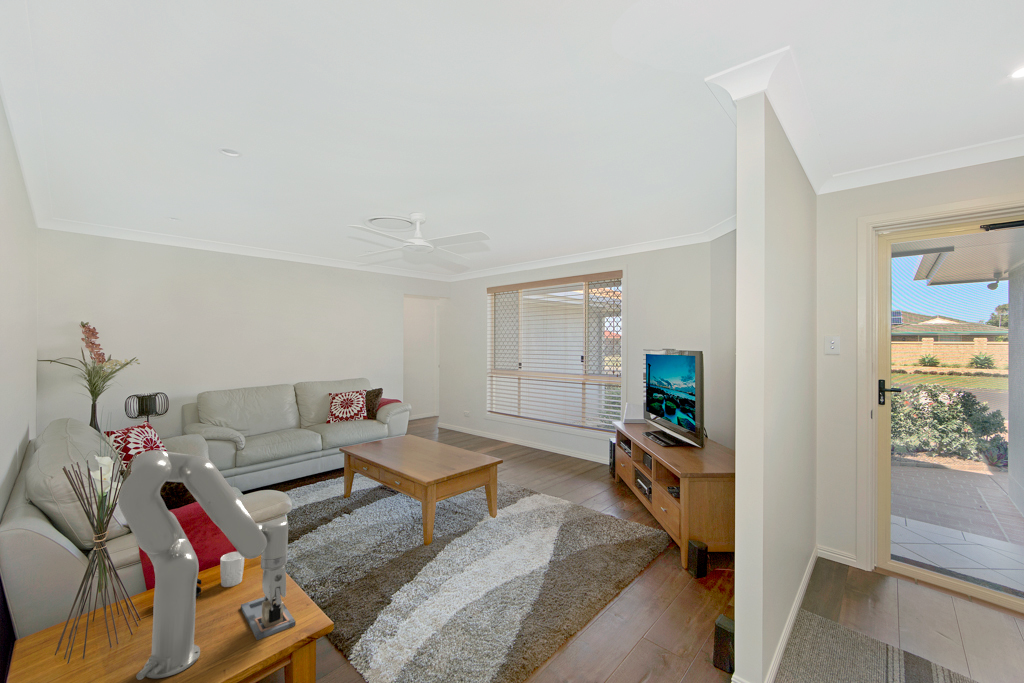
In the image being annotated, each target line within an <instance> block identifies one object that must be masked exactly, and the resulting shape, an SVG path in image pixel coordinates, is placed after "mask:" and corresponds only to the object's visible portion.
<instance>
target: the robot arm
mask: <svg viewBox="0 0 1024 683" xmlns="http://www.w3.org/2000/svg"><path fill="white" fill-rule="evenodd" d="M130 471H131V473H130V474H129V475H128V476H127V478H126V479H125V480H124V482H123V483H122V485H121V487H120V490H119V493H118V500H117V501H118V502H117V503H118V506H119V509H120V511H121V513H122V515H123V517H124V520H125V521H126V523H127V525H128V526H129V529H130V531H131V532H132V534H133V536H134V538H135V540H136V543H137V546H138V547H139V548H140V549H141V550H142V551H143V552H144V553H145V554H146V555H147V556H148V558H149V560H150V561H151V563H152V566H153V571H154V577H155V578H154V581H155V584H154V596H153V607H152V608H153V611H152V613H153V617H152V637H151V656H149V657H148V660H147V661H146V662H145V664H144V666H143V668H142V669H141V670H140V671H139V672H138V673H136V675H135V676H136V677H135V678H136V679H137V680H138V681H140V680H143V679H144V678H146V677H147V678H149V679H163V678H168V677H171V676H173V675H176V674H179V673H181V672H184V671H185V670H186V669H188V668H189V667H191V666H192V665H194V663H196V661H197V660H198V659H199V657H200V655H201V648H200V646H199V645H197V644H195V629H196V628H195V626H196V625H195V624H196V605H197V604H196V602H197V600H196V599H197V598H196V586H198V583H197V578H198V576H199V569H200V568H199V567H200V566H199V560H198V556H197V554H196V552H195V550H194V548H193V546H192V544H191V542H190V541H189V539H188V537H187V534H186V533H185V531H184V529H183V528H182V526H181V524H180V522H179V521H178V519H177V516H176V515H175V514H174V513H173V512H172V511H169V509H168V508H167V506H166V503H165V501H164V499H163V498H162V496H161V489H162V487H163V485H165V483H166V482H172V483H183V486H185V488H186V489H187V490H188V491H189V493H190V494H191V495H192V496H193V498H194V499H195V501H196V502H197V503H198V504H199V506H200V507H201V508H202V509H203V511H204V512H205V513H206V515H207V516H208V517H209V518H210V520H211V521H212V523H214V525H216V526H217V527H218V528H219V529H220V531H221V532H222V533H223V534H224V535H225V536H226V538H227V540H228V541H229V542H230V543H231V544H232V546H233V547H234V548H235V549H236V552H239V553H240V555H241V556H242V557H244V558H245V559H248V560H252V559H257V558H259V557H260V569H261V570H262V581H261V584H262V592H263V594H264V597H265V601H267V600H269V601H270V610H269V623H272V622H274V621H277V620H279V619H280V612H281V603H282V602H281V600H282V598H285V597H287V572H286V565H287V563H288V546H289V545H288V544H289V522H288V520H286V519H283V518H282V519H281V518H279V519H278V518H276V519H272V520H269V521H266V522H255V520H254V519H253V518H252V516H251V515H250V514H249V512H248V510H247V509H246V507H245V506H244V503H243V502H242V500H241V499H240V498H239V496H238V495H237V493H236V492H235V491H234V489H233V487H232V486H231V485H230V484H229V483H228V481H227V480H226V479H225V477H224V476H223V474H222V473H221V471H219V469H218V467H217V466H216V465H215V464H214V463H213V462H212V460H210V459H209V458H208V457H206V456H202V455H196V454H187V453H182V452H174V451H165V450H159V449H157V450H155V449H153V450H147V451H143V452H141V453H140V454H139V455H137V456H136V457H135V458H134V459H133V460H132V463H131V465H130ZM198 579H199V578H198ZM273 598H274V599H273ZM273 601H276V603H274V605H273Z"/></svg>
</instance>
